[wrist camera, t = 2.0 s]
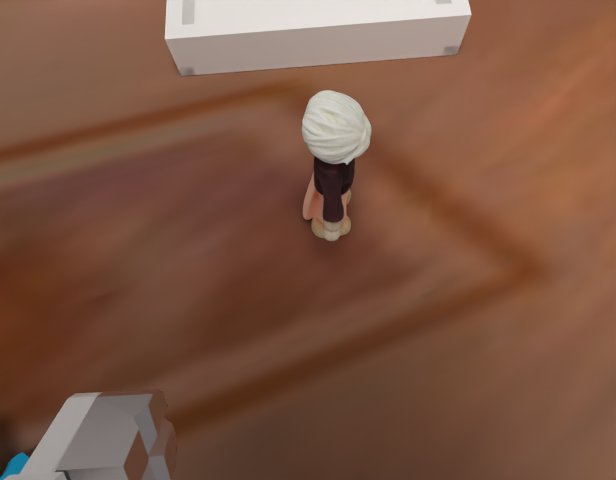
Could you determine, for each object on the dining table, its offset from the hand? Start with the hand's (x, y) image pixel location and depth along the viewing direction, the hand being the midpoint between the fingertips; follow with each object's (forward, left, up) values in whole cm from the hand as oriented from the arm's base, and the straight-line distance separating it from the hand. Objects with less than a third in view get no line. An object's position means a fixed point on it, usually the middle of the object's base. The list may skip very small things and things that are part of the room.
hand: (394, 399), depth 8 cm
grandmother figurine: (0, +12, -22) cm, 25 cm away
